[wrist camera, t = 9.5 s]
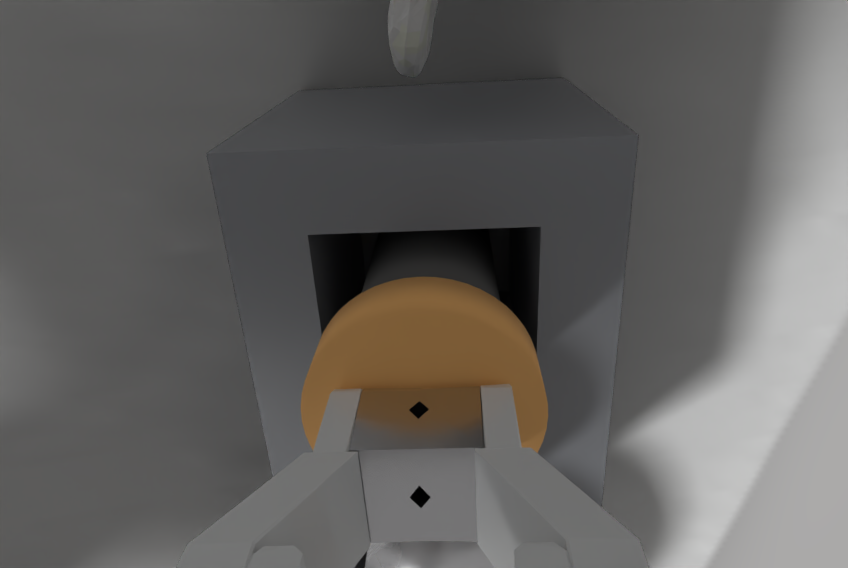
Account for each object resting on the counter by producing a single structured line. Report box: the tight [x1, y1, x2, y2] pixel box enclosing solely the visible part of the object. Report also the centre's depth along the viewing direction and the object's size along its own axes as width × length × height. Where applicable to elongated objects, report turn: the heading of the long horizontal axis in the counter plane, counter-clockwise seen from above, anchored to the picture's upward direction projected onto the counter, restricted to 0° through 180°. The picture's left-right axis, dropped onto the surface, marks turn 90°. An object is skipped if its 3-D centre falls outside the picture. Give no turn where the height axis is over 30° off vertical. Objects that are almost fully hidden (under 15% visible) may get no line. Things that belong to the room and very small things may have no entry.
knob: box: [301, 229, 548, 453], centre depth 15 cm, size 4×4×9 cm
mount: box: [206, 78, 639, 568], centre depth 18 cm, size 16×8×8 cm, turn 3°
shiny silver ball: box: [365, 541, 494, 568], centre depth 13 cm, size 3×3×3 cm
